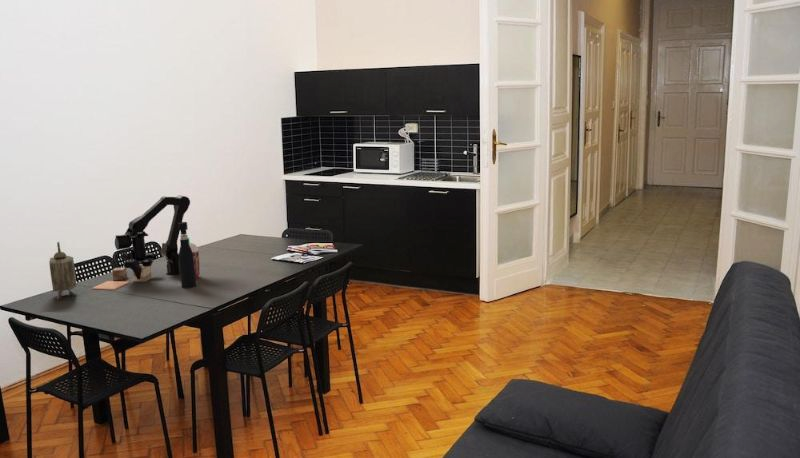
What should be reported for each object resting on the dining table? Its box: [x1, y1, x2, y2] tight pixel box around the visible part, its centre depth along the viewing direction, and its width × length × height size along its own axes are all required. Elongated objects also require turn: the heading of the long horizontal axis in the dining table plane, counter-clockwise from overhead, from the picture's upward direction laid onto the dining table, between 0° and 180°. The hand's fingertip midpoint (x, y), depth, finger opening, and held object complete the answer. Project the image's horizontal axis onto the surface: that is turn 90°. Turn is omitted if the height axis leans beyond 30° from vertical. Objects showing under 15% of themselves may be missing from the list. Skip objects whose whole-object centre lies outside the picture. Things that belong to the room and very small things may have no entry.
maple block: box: [131, 265, 153, 282], centre depth 337 cm, size 6×6×6 cm
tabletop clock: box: [48, 241, 77, 301], centre depth 312 cm, size 14×9×25 cm, turn 23°
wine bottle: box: [178, 221, 197, 289], centre depth 319 cm, size 6×6×30 cm
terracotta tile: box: [91, 280, 131, 291], centre depth 328 cm, size 12×12×1 cm
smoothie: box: [188, 237, 201, 279], centre depth 335 cm, size 8×8×20 cm
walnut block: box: [111, 267, 128, 281], centre depth 341 cm, size 5×5×5 cm
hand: (142, 277), depth 337 cm, fingers closed on maple block, 6 cm apart
